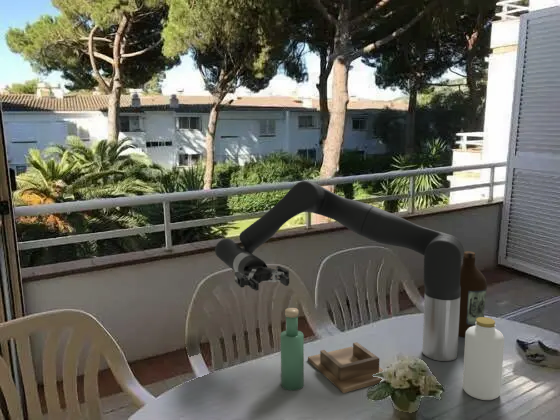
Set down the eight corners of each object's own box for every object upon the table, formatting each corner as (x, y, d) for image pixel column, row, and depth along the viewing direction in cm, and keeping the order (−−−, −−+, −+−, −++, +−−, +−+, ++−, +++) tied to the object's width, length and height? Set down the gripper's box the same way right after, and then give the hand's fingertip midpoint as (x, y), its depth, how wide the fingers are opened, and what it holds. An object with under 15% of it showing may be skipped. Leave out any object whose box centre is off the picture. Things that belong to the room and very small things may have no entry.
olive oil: (439, 328, 148) (443, 250, 143) (464, 322, 152) (469, 246, 148) (465, 341, 138) (469, 259, 134) (491, 334, 142) (497, 254, 138)
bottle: (289, 375, 120) (288, 304, 117) (308, 382, 117) (307, 309, 114) (276, 385, 116) (275, 311, 112) (295, 392, 112) (295, 316, 109)
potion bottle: (504, 404, 107) (509, 329, 104) (465, 400, 108) (469, 326, 105) (495, 384, 115) (500, 314, 112) (459, 381, 116) (463, 312, 113)
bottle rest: (307, 360, 128) (307, 344, 127) (351, 349, 134) (351, 334, 133) (343, 393, 112) (343, 375, 111) (391, 379, 118) (391, 362, 117)
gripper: (226, 258, 133) (246, 274, 118) (272, 252, 139) (297, 267, 124) (226, 283, 134) (247, 302, 120) (272, 276, 140) (297, 294, 126)
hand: (272, 284), depth 122 cm, fingers open, 8 cm apart
